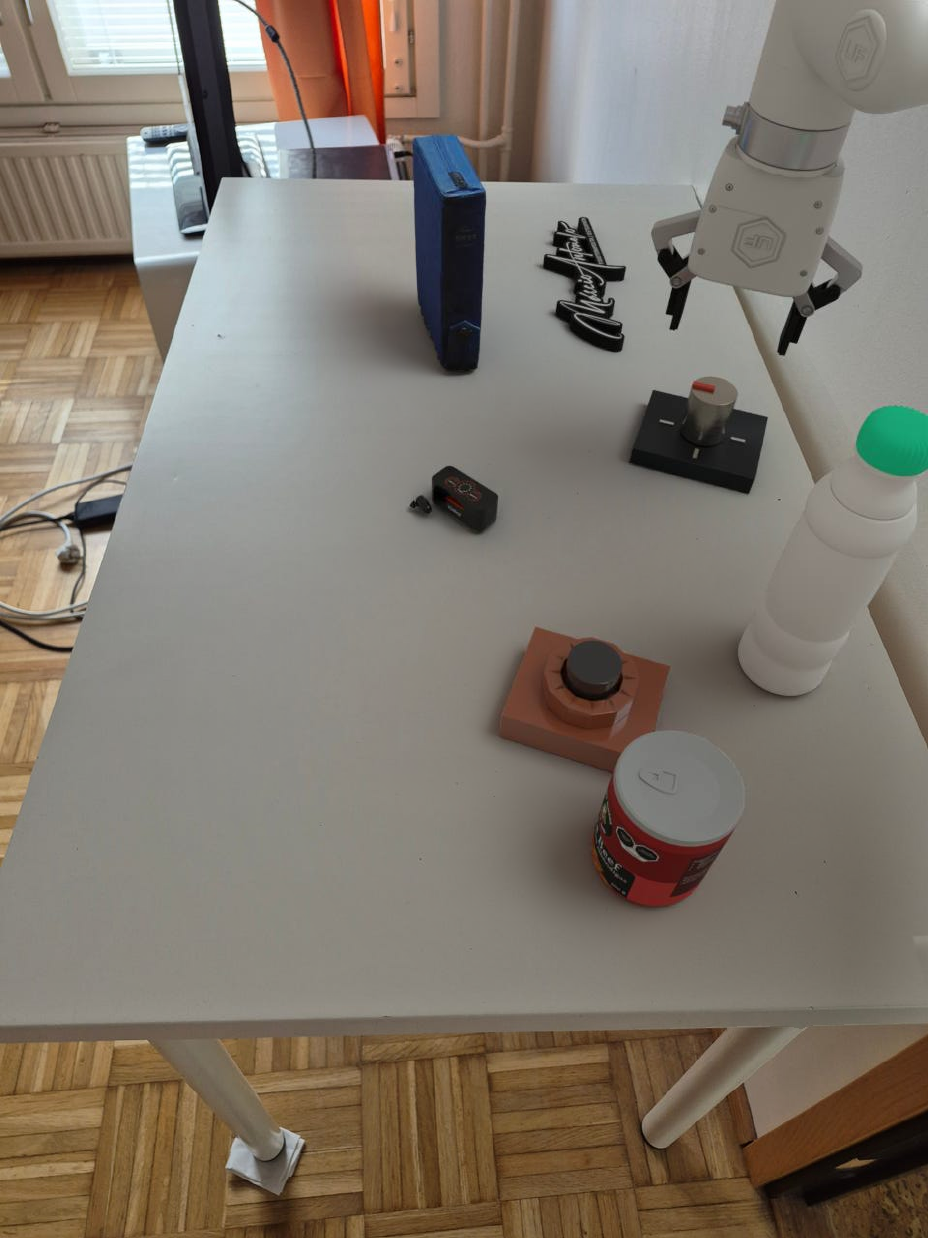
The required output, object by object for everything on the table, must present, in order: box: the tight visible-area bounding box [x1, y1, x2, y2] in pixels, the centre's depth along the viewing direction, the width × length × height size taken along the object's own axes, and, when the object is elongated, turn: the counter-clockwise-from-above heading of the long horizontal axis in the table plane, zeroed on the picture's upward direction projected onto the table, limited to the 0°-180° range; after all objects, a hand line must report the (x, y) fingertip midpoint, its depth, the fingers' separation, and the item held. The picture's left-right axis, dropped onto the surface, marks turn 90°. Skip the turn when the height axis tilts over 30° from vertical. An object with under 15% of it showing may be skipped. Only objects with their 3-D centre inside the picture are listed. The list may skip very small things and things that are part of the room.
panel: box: [628, 389, 769, 494], centre depth 89 cm, size 12×10×2 cm
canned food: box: [590, 729, 746, 908], centre depth 58 cm, size 8×8×11 cm
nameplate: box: [542, 216, 627, 353], centre depth 108 cm, size 28×2×10 cm
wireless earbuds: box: [409, 465, 499, 533], centre depth 81 cm, size 5×7×3 cm, turn 49°
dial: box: [680, 376, 739, 446], centre depth 86 cm, size 4×4×5 cm
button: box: [564, 641, 622, 700], centre depth 65 cm, size 4×4×2 cm
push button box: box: [498, 626, 671, 773], centre depth 68 cm, size 11×9×5 cm
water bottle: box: [737, 405, 928, 697], centre depth 63 cm, size 7×7×25 cm
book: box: [411, 133, 487, 372], centre depth 92 cm, size 14×5×20 cm, turn 14°
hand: (728, 334), depth 79 cm, fingers open, 9 cm apart
